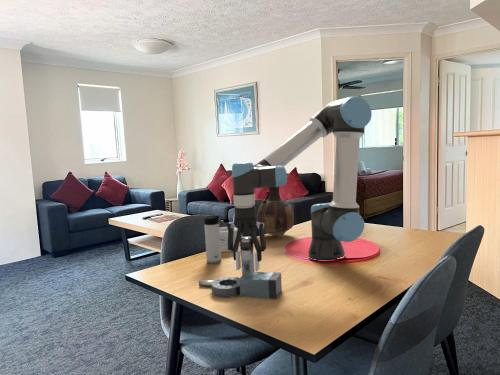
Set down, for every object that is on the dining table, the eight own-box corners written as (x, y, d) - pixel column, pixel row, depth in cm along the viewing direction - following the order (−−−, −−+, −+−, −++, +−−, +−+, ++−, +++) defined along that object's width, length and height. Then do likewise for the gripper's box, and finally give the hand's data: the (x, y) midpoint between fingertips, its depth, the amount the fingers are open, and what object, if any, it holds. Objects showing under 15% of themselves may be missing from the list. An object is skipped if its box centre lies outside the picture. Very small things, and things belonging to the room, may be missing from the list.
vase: (257, 232, 211) (255, 179, 208) (292, 231, 210) (290, 177, 207) (257, 243, 188) (254, 183, 185) (296, 241, 187) (293, 181, 184)
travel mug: (219, 264, 158) (216, 217, 156) (204, 263, 159) (201, 217, 157) (223, 259, 164) (221, 214, 162) (209, 259, 165) (206, 214, 163)
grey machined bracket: (283, 288, 127) (282, 270, 127) (275, 301, 117) (274, 282, 116) (203, 283, 137) (201, 266, 136) (189, 294, 126) (187, 276, 126)
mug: (212, 251, 177) (211, 231, 176) (222, 245, 187) (221, 226, 186) (238, 253, 172) (237, 232, 171) (247, 247, 182) (246, 227, 181)
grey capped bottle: (256, 279, 137) (254, 236, 136) (253, 284, 133) (250, 239, 131) (244, 278, 139) (242, 236, 137) (240, 283, 134) (237, 239, 133)
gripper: (273, 204, 134) (276, 267, 136) (223, 204, 140) (226, 264, 142) (268, 207, 126) (271, 274, 129) (215, 207, 132) (219, 271, 135)
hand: (248, 269), depth 135 cm, fingers open, 6 cm apart
